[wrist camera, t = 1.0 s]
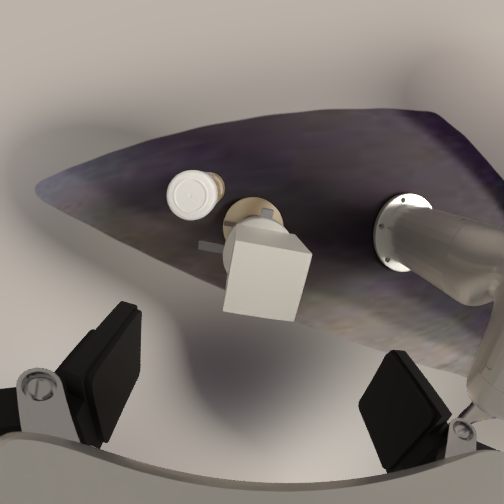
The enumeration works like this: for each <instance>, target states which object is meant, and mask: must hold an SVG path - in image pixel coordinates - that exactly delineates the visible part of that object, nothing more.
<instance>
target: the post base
mask: <svg viewBox="0 0 504 504" xmlns="http://www.w3.org/2000/svg"><path fill="white" fill-rule="evenodd" d="M262 208H267V209H273V210H274V212H273V217H272V219H274V220H276V221H278V222H279V223H280V224H281V225H282V226H283V220H282V217H281V215H280V213H279V211H278V210H277V208H276V207H275V206H274V205H273V204H271V203H270V202H269V201H267V200H265V199H262V198H258V197H248V198H244V199H241V200H239V201H237V202H236V203H235V204H233V205H232V206H231V207H230V209H229V210H228V212H227V213H226V216H225V219H224V222H223V233H224V237H225V240H226V238H227V236H228V234H229V232H230V231H231V229H232V228H233V227H234V226H235V225H236V224H237V223H239V222H240V221H242V220H244V219H246V218H249V217H253V216H260V215H261V210H262Z"/></svg>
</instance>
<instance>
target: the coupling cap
mask: <svg viewBox="0 0 504 504" xmlns="http://www.w3.org/2000/svg"><path fill="white" fill-rule="evenodd" d="M273 212H274V210H273V209H267V208H262V210H261V215H260V216H253V217H249V218H246V219H244V220H242V221H240V222H239V223H237V224H236V225H235V226H234V227H233V228H232V229H231V231H230V232H229V234H228V236H227V238H226V241H225V245H223V244H218V243H212V242H206V241H201V240H200V241H199V245H198V250H204V251H209V252H215V253H220V254H223V263H224V267H225V270H226V272H227V274H228V275H227V281H226V289H225V298H224V305H223V311H224V312H230V313H236V314H242V315H249V316H256V317H263V318H269V319H277V320H285V321H292V322H294V319H295V316H296V313H297V309H298V306H299V302H300V299H301V295H302V292H303V288H304V284H305V281H306V277H307V273H308V269H309V266H310V262H311V258H312V253H311V252H310V251H309V250H308V249H307V248H306V246H305V245H304V244H303V243H302V242H301V241H300V240H299V239H298V237H297V236H296V235H294V234H289V232H288V231H287V230H286V229H285V228H284V227H283V226H282V225H281V224H280V223H279V222H278V221H276V220H274V219H272V217H273Z"/></svg>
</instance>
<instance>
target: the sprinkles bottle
mask: <svg viewBox="0 0 504 504" xmlns="http://www.w3.org/2000/svg"><path fill="white" fill-rule="evenodd" d="M224 190H225V187H224V182H223V180H222V179H221V177H220V176H218V175H217V174H215V173H213V172H202V171H198V170H187V171H184V172H181V173H179V174H178V175H176V176H175V177H174V178H173V179H172V180H171V182H170V184H169V186H168V189H167V202H168V205H169V207H170V209H171V210H172V212H173V213H174V214H175V215H176V216H178V217H180V218H182V219H185V220H197V219H200V218H203V217H204V216H206V215H207V214H208V213H209V212H210V211H211V210H212V209H213V208H214V206H215V205H216V203H217V202H218V201H219V200H220V199H221V198H222V196H223V195H224Z"/></svg>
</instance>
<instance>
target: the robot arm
mask: <svg viewBox="0 0 504 504" xmlns="http://www.w3.org/2000/svg"><path fill="white" fill-rule="evenodd" d="M379 225H380V226H379ZM373 242H374V247H375V251H376V253H377V256H378V257H379V259H380V260H381V261H382V262H383V263H384V264H385V265H386V266H387V267H389V268H390V269H392V270H394V271H399V272H407V271H410V270H412V271H413V272H415V273H416V274H418V275H419V276H421V277H422V278H424V279H425V280H427V281H429V282H430V283H432V284H433V285H435V286H436V287H438V288H439V289H440V290H442V291H443V292H445V293H446V294H448V295H449V296H451V297H452V298H454V299H455V300H457V301H458V302H460V303H462V304H464V305H468V306H478V305H483V304H486V303H489V302H491V301H493V300H494V307H493V310H492V313H491V316H490V321H489V323H488V326H487V329H486V331H485V334H484V336H483V339H482V341H481V344H480V346H479V348H478V351H477V353H476V356H475V358H474V360H473V362H472V365H471V367H470V370H469V373H468V377H467V392H468V394H469V397H470V399H471V400H472V402H473V403H474V404H475V405H476V406H477V407H478V408H479V409H481V410H482V411H483V412H485V413H487V414H489V415H491V416H494V417H496V418H499V419H503V420H504V228H501V227H497V226H494V225H490V224H487V223H483V222H480V221H476V220H473V219H469V218H466V217H462V216H459V215H455V214H452V213H448V212H444V211H440V210H436V209H432V207H431V205H430V204H429V203H428V201H426V200H425V199H424V198H423V197H421V196H419V195H416V194H411V193H403V194H399V195H396V196H394V197H393V198H391V199H390V200H389V201H388V202H387V203H386V204H385V205H384V206H383V207H382V209H381V210H380V212H379V214H378V216H377V218H376V221H375V225H374V231H373ZM141 317H142V312H141V311H140V310H138V309H137V306H136V305H134V304H130V303H127V302H124V301H121V302H120V303H119V304H118V305H117V306H116V307H115V308H114V309H113V310H112V312H111V313H110V314H109V315H108V316H107V317H106V318H105V320H104V321H103V322H102V323H101V324H100V325H99V326H98V327H97V329H96V330H94V329H93V330H90V331H89V332H88V333H87V335H86V336H85V337H84V338H83V339H82V340H81V341H80V342H79V344H78V345H77V346H76V347H75V348H74V349H73V351H72V352H71V353H70V354H69V355H68V356H67V358H66V359H65V360H64V361H63V362H62V364H61V365H60V366H59V367H58V368H57V370H56V371H55V372H52V371H50V370H48V369H44V368H33V369H29V370H27V371H25V372H24V373H22V374H21V375H20V377H19V378H18V380H17V386H16V387H14V388H5V389H0V504H504V453H503V452H501V451H499V450H496V449H493V448H491V447H489V446H486V445H484V444H482V443H479V442H477V441H476V431H475V429H474V427H473V426H472V425H471V424H470V423H469V422H468V421H466V420H464V419H461V418H455V419H453V420H452V421H451V422H450V423H449V424H447V420H448V419H449V418H450V417H451V415H452V413H451V412H450V411H449V409H448V408H447V406H446V405H445V404H444V402H443V401H442V399H441V398H440V397H439V395H438V394H437V392H436V391H435V390H434V388H433V387H432V386H431V384H430V383H429V382H428V380H427V379H426V378H425V376H424V375H423V374H422V372H421V371H420V370H419V368H418V367H417V366H416V364H415V363H414V362H413V361H412V359H411V358H410V357H409V355H408V354H407V353H406V352H405V351H401V350H391V351H390V352H389V353H388V354H386V356H385V357H384V359H383V361H382V363H381V365H380V367H379V368H378V370H377V372H376V374H375V375H374V377H373V379H372V381H371V382H370V384H369V386H368V388H367V389H366V391H365V393H364V394H363V396H362V398H361V399H360V401H359V405H358V406H359V410H360V413H361V415H362V417H363V420H364V422H365V425H366V427H367V429H368V432H369V434H370V437H371V439H372V442H373V444H374V447H375V449H376V452H377V454H378V457H379V459H380V462H381V464H382V467H383V468H384V469H386V472H387V474H382V475H377V476H371V477H365V478H358V479H351V480H341V481H330V482H315V483H262V482H246V481H235V480H227V479H219V478H212V477H205V476H199V475H193V474H189V473H184V472H179V471H174V470H170V469H165V468H161V467H157V466H153V465H149V464H145V463H142V462H139V461H135V460H132V459H129V458H126V457H123V456H120V455H116V454H113V453H110V452H107V451H104V450H101V449H100V447H101V445H102V443H103V442H105V443H108V441H109V439H110V437H111V435H112V433H113V430H114V428H115V426H116V424H117V421H118V419H119V417H120V415H121V413H122V411H123V408H124V406H125V404H126V402H127V400H128V398H129V396H130V393H131V391H132V389H133V387H134V385H135V383H136V381H137V379H138V377H139V373H140V351H141V349H140V348H141ZM90 445H91V446H90ZM92 446H93V447H92ZM95 447H96V448H95ZM402 469H403V470H402Z"/></svg>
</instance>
